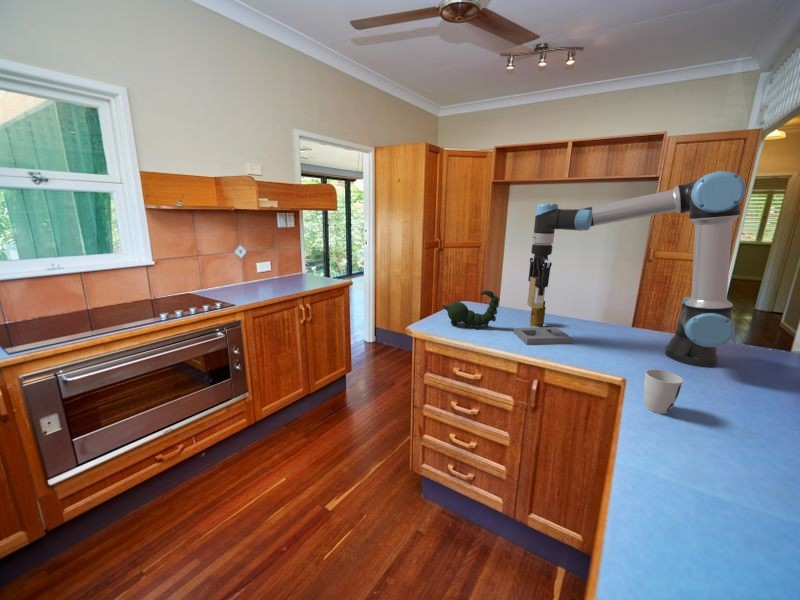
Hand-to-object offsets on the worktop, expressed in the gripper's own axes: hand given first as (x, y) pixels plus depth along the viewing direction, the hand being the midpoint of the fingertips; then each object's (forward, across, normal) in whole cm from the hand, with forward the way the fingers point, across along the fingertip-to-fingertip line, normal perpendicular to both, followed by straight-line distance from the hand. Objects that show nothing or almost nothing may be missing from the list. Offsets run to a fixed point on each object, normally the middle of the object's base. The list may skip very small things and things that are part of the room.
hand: (535, 301), depth 142 cm
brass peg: (+2, 0, 0) cm, 2 cm away
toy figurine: (+17, -16, -22) cm, 32 cm away
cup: (+16, +54, +10) cm, 57 cm away
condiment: (+17, -17, +12) cm, 26 cm away
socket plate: (+16, 0, +5) cm, 17 cm away
